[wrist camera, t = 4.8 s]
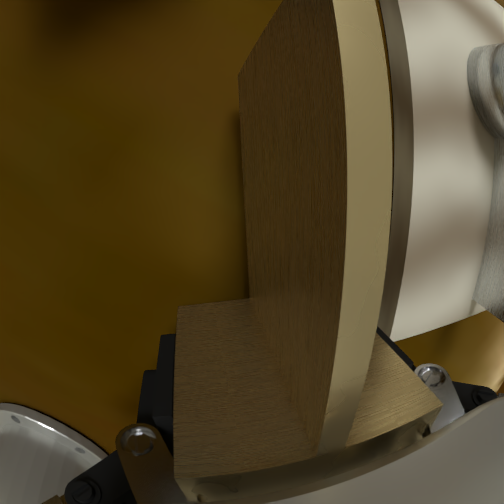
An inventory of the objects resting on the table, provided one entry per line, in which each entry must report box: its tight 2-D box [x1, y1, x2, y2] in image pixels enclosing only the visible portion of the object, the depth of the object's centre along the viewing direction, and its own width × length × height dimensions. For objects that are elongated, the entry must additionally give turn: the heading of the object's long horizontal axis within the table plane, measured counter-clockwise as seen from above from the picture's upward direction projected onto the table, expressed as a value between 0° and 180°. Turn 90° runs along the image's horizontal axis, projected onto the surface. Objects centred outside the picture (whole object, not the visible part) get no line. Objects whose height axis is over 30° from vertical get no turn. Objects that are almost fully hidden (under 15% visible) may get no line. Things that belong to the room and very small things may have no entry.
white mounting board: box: [377, 0, 504, 342], centre depth 12 cm, size 22×14×2 cm, turn 3°
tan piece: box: [173, 0, 444, 502], centre depth 7 cm, size 14×6×7 cm, turn 3°
